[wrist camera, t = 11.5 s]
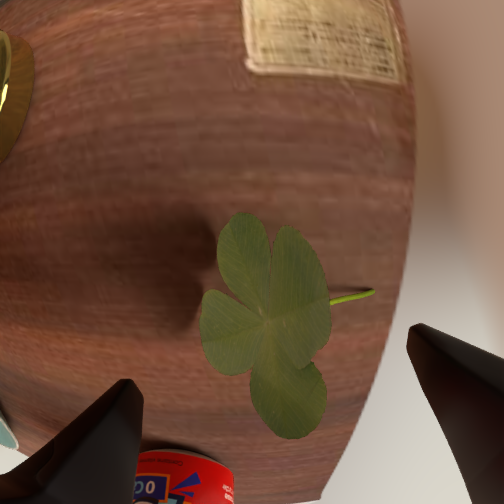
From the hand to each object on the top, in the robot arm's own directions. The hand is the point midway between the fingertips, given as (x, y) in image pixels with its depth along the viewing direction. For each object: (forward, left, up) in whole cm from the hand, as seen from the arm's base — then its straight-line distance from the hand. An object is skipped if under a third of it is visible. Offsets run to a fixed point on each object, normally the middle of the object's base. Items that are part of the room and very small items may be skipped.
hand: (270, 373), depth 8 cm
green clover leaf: (-1, 0, -4) cm, 4 cm away
